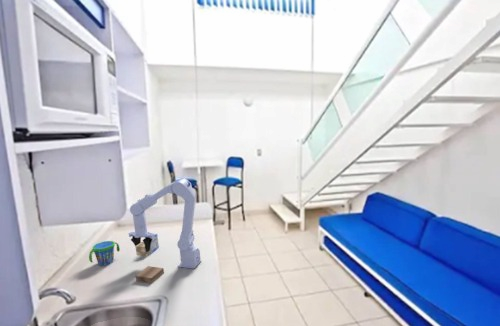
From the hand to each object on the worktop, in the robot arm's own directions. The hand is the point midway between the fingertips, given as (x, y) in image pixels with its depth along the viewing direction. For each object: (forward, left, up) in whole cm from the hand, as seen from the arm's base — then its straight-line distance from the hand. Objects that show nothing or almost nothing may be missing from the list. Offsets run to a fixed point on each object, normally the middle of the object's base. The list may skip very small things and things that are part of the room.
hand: (143, 250), depth 148 cm
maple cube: (0, 0, -2) cm, 2 cm away
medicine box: (+8, -16, -8) cm, 20 cm away
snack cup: (+24, +2, -8) cm, 26 cm away
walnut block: (-10, +9, -9) cm, 16 cm away
